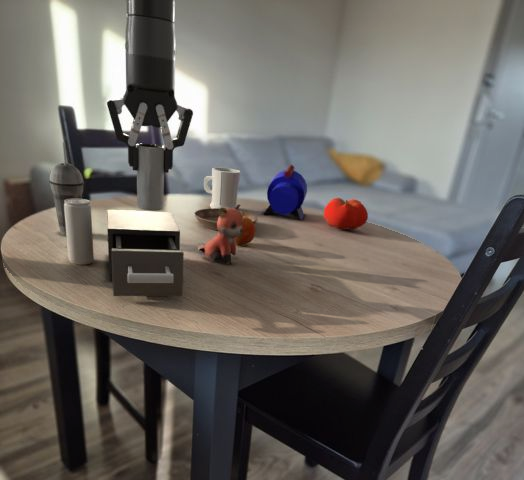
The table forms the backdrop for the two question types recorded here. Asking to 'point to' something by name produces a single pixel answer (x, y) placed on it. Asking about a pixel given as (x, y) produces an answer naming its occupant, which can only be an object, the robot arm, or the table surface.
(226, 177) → the cup
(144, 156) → the grey hollow cylinder
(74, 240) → the beverage can
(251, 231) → the fruit
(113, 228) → the cabinet
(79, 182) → the beverage cup
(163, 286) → the drawer
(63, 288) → the table surface
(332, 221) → the tomato
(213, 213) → the plant saucer
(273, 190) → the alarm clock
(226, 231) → the stuffed fox
